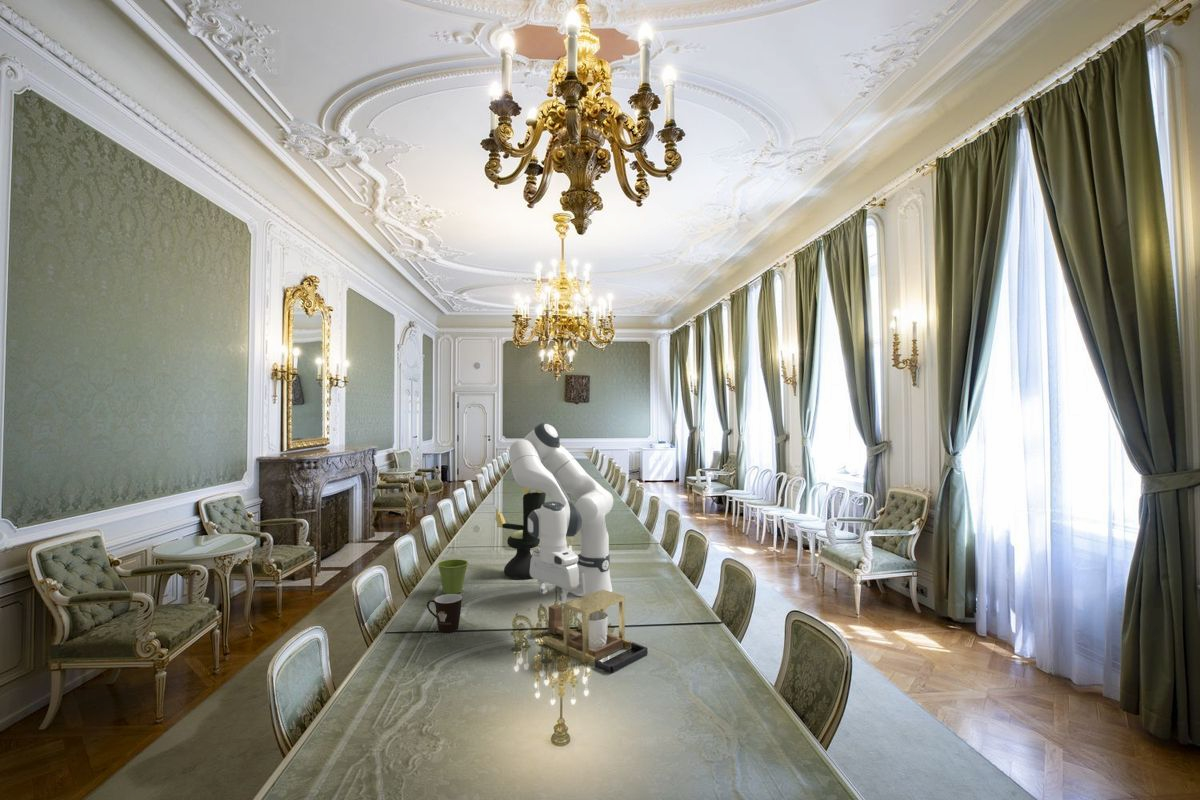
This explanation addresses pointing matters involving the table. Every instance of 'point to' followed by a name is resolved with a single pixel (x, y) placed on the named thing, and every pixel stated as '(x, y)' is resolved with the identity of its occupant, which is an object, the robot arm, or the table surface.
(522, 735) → the table surface
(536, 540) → the candelabra
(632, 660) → the tunnel
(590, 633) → the white cup
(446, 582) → the plant pot
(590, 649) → the wooden frame with handle
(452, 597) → the coffee mug
